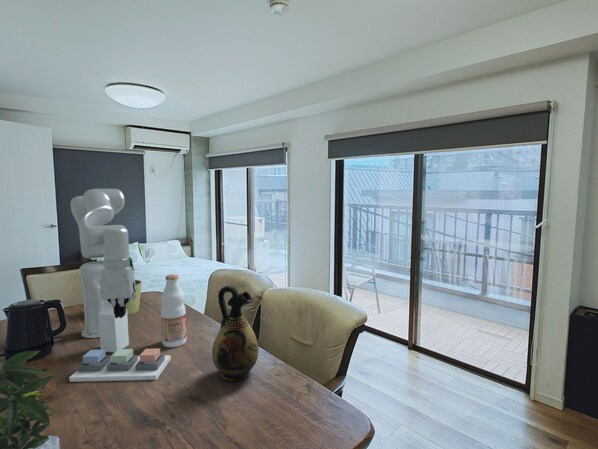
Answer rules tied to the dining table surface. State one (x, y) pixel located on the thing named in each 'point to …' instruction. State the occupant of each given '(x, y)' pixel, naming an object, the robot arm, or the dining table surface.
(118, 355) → the sage-green button
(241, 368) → the ceramic jug
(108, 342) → the milk carton
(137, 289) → the potted cactus
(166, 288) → the fruit juice
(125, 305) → the robot arm
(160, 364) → the button panel
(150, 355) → the terracotta button
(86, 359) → the slate-blue button
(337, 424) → the dining table surface
